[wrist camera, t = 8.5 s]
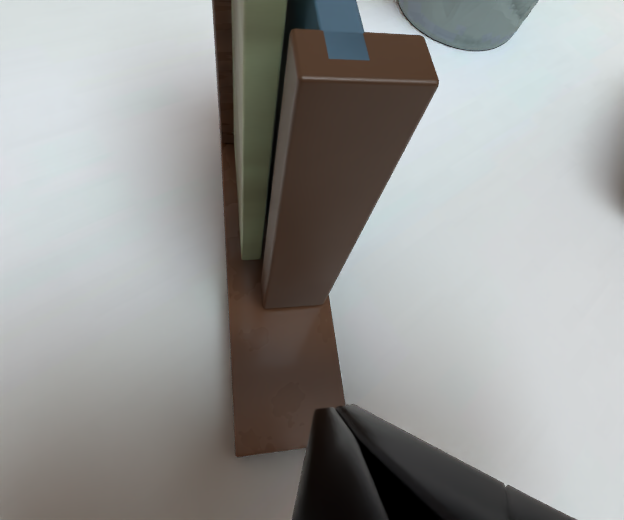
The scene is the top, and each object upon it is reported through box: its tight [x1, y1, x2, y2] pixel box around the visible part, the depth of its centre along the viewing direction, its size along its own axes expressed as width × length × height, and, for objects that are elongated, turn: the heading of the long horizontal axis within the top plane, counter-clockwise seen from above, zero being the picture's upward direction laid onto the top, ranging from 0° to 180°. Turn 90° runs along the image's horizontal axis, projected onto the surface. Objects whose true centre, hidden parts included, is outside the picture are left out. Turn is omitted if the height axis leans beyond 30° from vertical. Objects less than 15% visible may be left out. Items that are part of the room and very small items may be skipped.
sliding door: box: [261, 0, 439, 309], centre depth 13 cm, size 6×2×11 cm, turn 8°
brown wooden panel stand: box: [212, 0, 345, 457], centre depth 12 cm, size 14×4×13 cm, turn 8°
